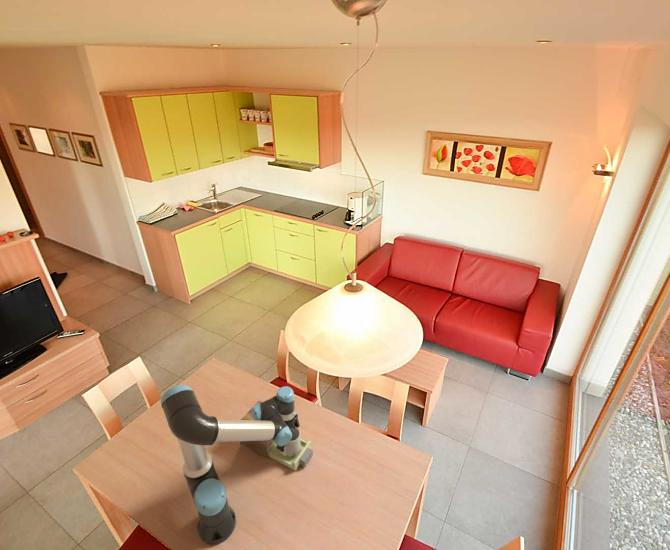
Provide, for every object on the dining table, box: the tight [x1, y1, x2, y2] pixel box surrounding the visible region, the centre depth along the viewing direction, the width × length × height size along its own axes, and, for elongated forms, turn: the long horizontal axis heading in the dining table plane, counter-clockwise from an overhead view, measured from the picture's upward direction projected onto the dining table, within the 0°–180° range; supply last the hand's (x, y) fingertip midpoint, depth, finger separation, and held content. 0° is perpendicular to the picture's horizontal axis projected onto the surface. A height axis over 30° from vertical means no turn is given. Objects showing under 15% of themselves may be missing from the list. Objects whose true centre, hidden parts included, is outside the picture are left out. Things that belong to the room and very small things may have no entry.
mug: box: [285, 427, 301, 456], centre depth 188 cm, size 12×8×11 cm
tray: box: [267, 438, 314, 471], centre depth 190 cm, size 14×20×5 cm
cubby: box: [239, 400, 274, 459], centre depth 195 cm, size 17×17×15 cm
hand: (289, 446), depth 190 cm, fingers closed on mug, 8 cm apart
